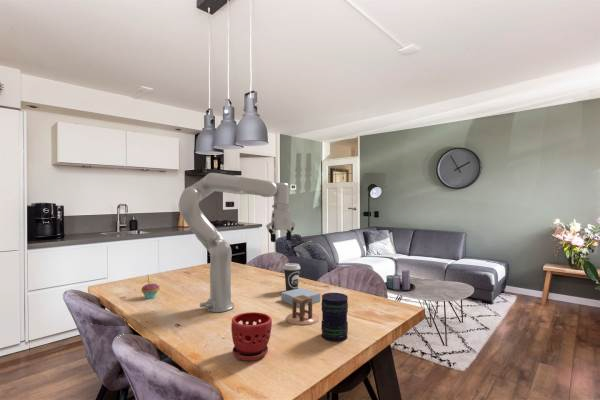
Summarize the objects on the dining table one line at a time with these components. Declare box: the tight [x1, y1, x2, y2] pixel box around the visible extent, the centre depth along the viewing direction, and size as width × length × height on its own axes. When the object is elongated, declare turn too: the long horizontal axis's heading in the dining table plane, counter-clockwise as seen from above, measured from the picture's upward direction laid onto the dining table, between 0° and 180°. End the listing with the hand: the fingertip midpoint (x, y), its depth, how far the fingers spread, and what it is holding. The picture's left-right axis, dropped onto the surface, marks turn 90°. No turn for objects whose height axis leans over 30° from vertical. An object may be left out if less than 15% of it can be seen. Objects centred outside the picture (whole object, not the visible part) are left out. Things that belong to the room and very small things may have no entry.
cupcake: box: [141, 274, 160, 300], centre depth 165 cm, size 9×8×12 cm
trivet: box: [285, 311, 319, 326], centre depth 136 cm, size 14×14×1 cm
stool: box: [291, 295, 313, 322], centre depth 136 cm, size 6×6×9 cm
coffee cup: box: [282, 262, 301, 292], centre depth 176 cm, size 10×10×15 cm
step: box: [280, 287, 321, 308], centre depth 160 cm, size 14×14×4 cm
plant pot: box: [230, 312, 273, 362], centre depth 104 cm, size 13×13×12 cm
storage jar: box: [320, 292, 349, 343], centre depth 118 cm, size 10×10×15 cm
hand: (281, 241), depth 159 cm, fingers open, 9 cm apart
